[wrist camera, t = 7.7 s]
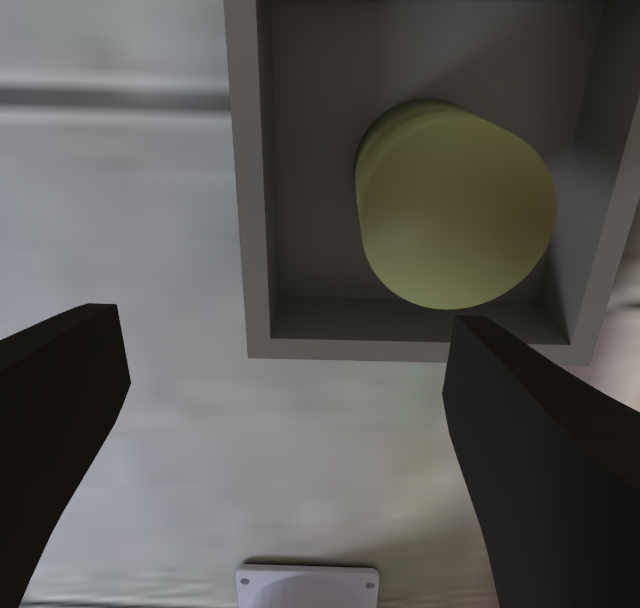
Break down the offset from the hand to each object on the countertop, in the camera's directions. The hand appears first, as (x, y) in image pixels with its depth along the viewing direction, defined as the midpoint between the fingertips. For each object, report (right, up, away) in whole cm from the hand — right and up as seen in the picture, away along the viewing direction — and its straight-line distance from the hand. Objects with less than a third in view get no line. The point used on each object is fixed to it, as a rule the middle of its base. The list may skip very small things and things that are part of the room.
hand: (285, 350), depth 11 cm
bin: (+4, +6, +7) cm, 10 cm away
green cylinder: (+4, +6, +7) cm, 10 cm away
